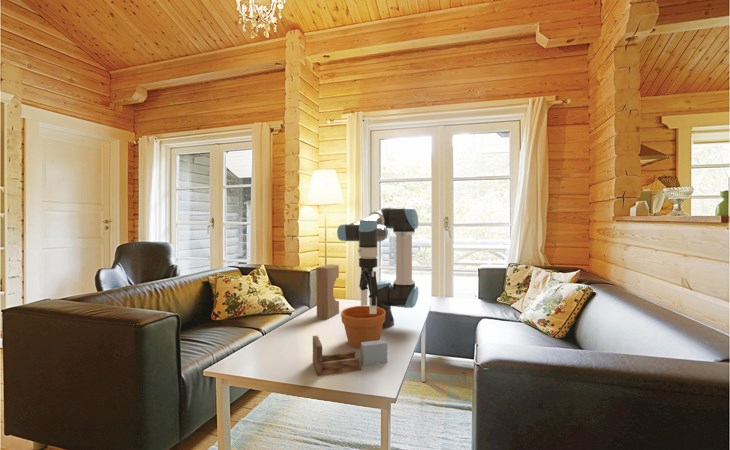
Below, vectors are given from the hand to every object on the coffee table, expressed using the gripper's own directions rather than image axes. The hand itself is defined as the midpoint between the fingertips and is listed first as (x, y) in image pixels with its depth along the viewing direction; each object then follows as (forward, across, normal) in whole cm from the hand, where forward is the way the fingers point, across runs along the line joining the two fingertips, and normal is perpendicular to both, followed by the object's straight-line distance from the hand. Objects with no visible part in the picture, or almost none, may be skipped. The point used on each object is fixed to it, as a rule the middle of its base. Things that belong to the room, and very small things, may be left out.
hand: (368, 309), depth 139 cm
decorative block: (+21, -71, -6) cm, 74 cm away
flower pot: (+21, -21, +4) cm, 30 cm away
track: (+21, +1, -14) cm, 25 cm away
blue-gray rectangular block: (+21, +1, +2) cm, 22 cm away
